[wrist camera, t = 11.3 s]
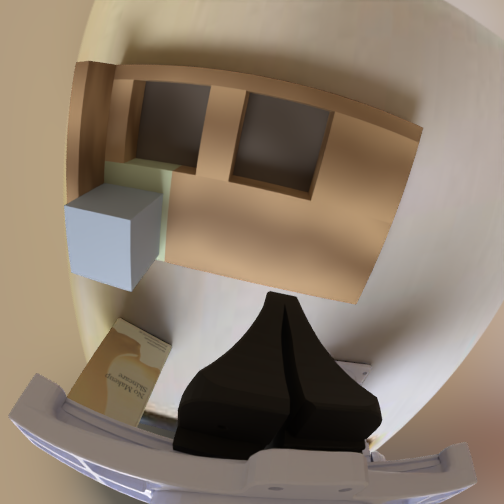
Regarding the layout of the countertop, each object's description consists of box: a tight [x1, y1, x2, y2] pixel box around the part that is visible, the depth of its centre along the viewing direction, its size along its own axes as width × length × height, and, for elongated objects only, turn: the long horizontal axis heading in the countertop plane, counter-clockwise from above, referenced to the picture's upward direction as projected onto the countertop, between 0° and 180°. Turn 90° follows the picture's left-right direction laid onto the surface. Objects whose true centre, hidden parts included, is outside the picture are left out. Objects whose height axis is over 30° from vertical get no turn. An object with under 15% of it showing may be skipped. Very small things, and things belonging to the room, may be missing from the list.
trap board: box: [66, 61, 423, 304], centre depth 16 cm, size 13×20×5 cm, turn 78°
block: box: [64, 183, 163, 292], centre depth 16 cm, size 4×4×4 cm
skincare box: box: [67, 318, 172, 428], centre depth 22 cm, size 6×4×12 cm
